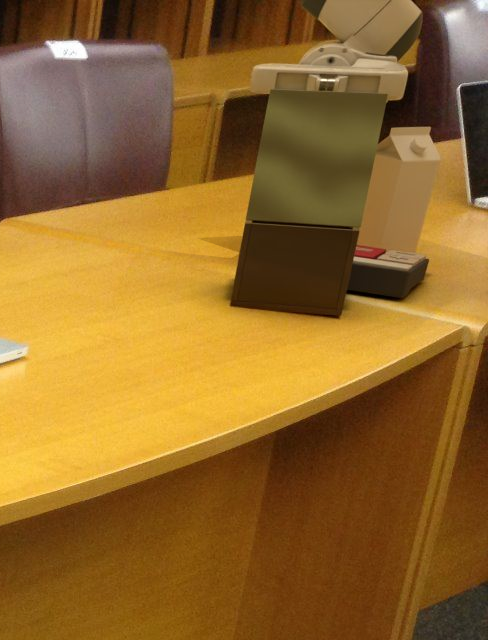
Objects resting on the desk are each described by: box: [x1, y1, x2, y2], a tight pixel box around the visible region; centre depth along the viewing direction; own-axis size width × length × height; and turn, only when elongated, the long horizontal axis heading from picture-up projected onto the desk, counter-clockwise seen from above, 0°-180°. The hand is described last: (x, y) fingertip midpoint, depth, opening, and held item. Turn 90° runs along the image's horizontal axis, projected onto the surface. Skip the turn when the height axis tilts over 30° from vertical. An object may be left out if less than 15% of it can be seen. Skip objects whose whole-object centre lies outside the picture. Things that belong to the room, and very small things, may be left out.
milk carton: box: [357, 126, 442, 254], centre depth 227 cm, size 7×7×19 cm
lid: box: [245, 89, 388, 228], centre depth 194 cm, size 16×14×1 cm
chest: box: [229, 219, 360, 317], centre depth 204 cm, size 14×14×11 cm
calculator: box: [347, 245, 430, 299], centre depth 214 cm, size 11×4×15 cm
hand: (326, 86), depth 211 cm, fingers closed
